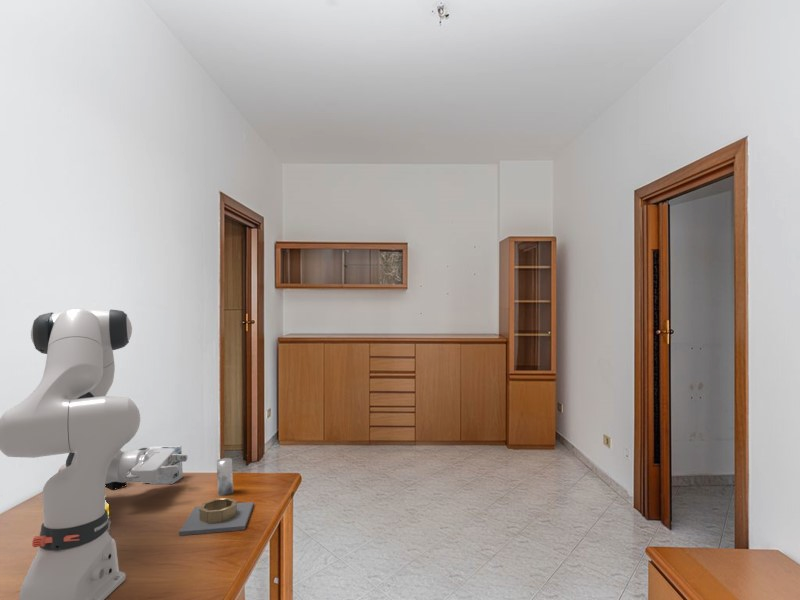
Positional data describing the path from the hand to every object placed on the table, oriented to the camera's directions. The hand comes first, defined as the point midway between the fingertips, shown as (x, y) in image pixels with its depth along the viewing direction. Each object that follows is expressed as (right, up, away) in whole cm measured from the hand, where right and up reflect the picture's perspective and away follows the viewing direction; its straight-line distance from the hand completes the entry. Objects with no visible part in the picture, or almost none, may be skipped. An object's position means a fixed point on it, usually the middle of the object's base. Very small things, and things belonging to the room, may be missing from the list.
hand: (182, 462), depth 160 cm
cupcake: (-37, -11, +5) cm, 39 cm away
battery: (-26, -11, +10) cm, 30 cm away
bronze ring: (+17, -9, -18) cm, 26 cm away
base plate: (+17, -10, -18) cm, 27 cm away
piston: (+13, -10, +1) cm, 16 cm away
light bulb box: (-12, -10, +14) cm, 21 cm away
